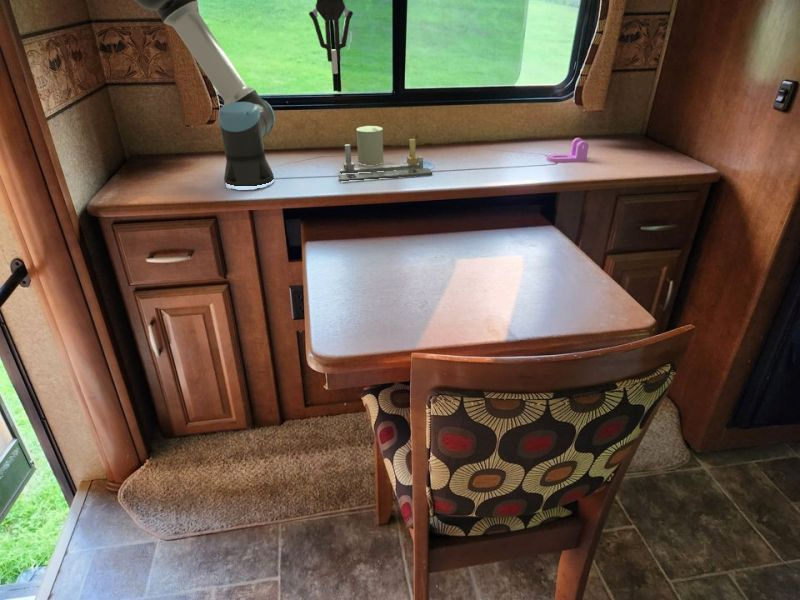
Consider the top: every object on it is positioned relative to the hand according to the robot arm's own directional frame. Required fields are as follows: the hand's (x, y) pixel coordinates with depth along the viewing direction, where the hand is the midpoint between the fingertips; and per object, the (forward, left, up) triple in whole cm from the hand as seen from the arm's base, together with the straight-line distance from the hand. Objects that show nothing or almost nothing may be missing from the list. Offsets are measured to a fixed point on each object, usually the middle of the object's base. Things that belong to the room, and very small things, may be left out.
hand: (335, 73), depth 159 cm
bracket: (+78, -8, -31) cm, 84 cm away
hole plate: (+13, -11, -30) cm, 35 cm away
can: (+11, +7, -31) cm, 33 cm away
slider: (+24, -4, -29) cm, 37 cm away
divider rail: (+13, -4, -30) cm, 33 cm away
